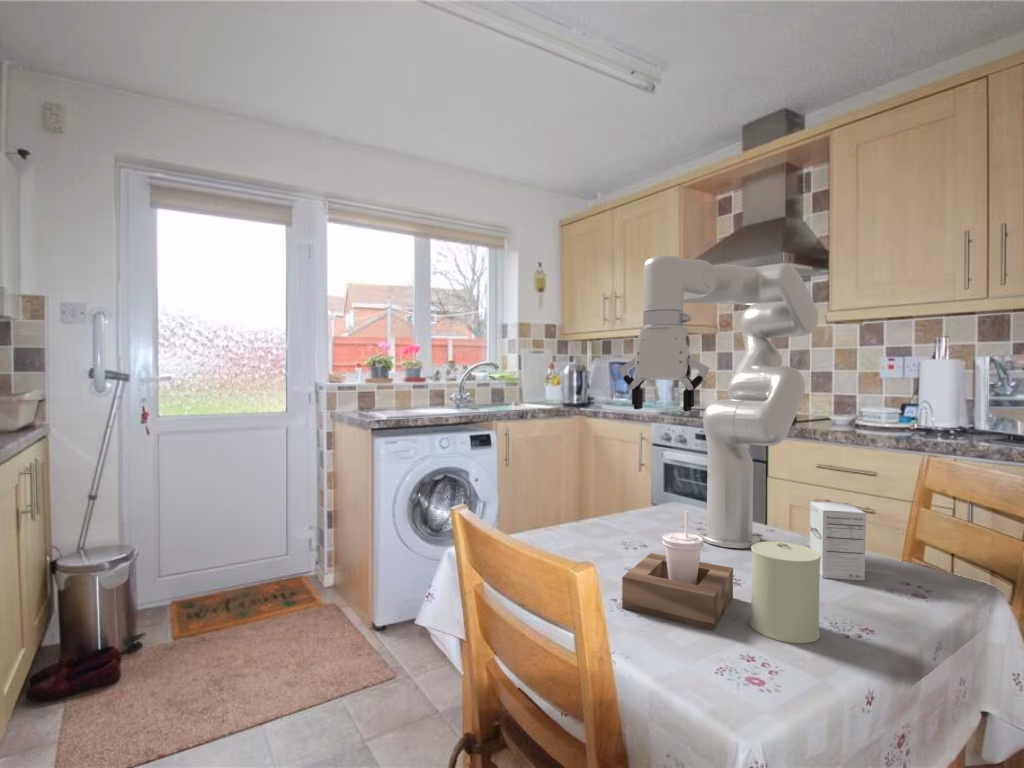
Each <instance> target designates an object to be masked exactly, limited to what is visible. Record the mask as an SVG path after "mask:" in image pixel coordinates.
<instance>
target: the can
mask: <svg viewBox="0 0 1024 768" xmlns="http://www.w3.org/2000/svg"><path fill="white" fill-rule="evenodd" d="M750 549H751V602H750V603H751V608H750V619H749V623H750V624H749V625H750V626H751V627H752V629H753V630H754V631H755V632H757V633H759V634H760V635H762V636H764V637H767V638H769V639H772V640H774V641H778V642H782V643H783V642H784V643H786V644H787V643H789V644H797V645H798V644H800V645H801V644H804V645H805V644H812V643H814V642H817V641H818V640H819V639H820V638H821V631H820V576H821V575H820V559H821V555H820V554H819V553H818V552H817V551H815V550H813V549H811V548H810V547H808V546H804V545H800V544H797V543H791V542H786V541H769V540H768V541H767V540H766V541H760V542H758V543H755V544H753V545H752V547H751V548H750Z"/></svg>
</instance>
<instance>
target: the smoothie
mask: <svg viewBox="0 0 1024 768" xmlns="http://www.w3.org/2000/svg"><path fill="white" fill-rule="evenodd" d="M662 544H663V545H664V551H665V556H666V561H667V569H668V578H669V580H674V581H679V582H684V583H689V584H694V585H696V582H697V575H698V568H699V562H701V560H700V559H701V552H702V548H703V547H704V541H703V539H702V538H701V537H700V535H696V534H693V533H689V511H688V510H685V511H684V532H681V531H680V532H678V531H677V532H675V531H674V532H668V533H665V534H663V536H662Z"/></svg>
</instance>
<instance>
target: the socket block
mask: <svg viewBox="0 0 1024 768" xmlns="http://www.w3.org/2000/svg"><path fill="white" fill-rule="evenodd" d="M621 580H622V582H621V583H622V587H621V588H622V589H621V590H622V592H621V594H622V595H621V596H622V597H621V604H622V605H621V609H624V610H629V611H633V612H635V613H640V614H645V615H647V616H648V615H649V616H654V617H657V618H661V619H665V620H668V621H669V620H670V621H674V622H676V623H677V622H678V623H682V624H685V625H690V626H693V627H697V628H701V629H707V630H709V631H714V630H715V629H716V628H717V625H718V624H719V622H720V620H721V619H722V617H723V615H724V613H725V612H726V610H727V608H728V607H729V605H730V604H731V602H732V600H733V599H734V567H731V566H730V567H729V566H724V565H720V564H713V563H708V562H702V561H699V568H698V575H697V582H696V585H694V584H689V583H684V582H679V581H674V580H669V578H668V569H667V561H666V554H665V555H664V554H659V553H653V552H650V553H649V554H648V555H647V556H645V558H643V559H642V560H641V561H639V562H638V563H637V564H636V565H635V566H634V567H632V568H631V569H629V571H628V572H627V573H625V574H624V575H623V576H622V579H621Z"/></svg>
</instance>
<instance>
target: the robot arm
mask: <svg viewBox="0 0 1024 768" xmlns="http://www.w3.org/2000/svg"><path fill="white" fill-rule="evenodd" d="M642 278H643V279H642V281H643V283H642V284H643V286H642V288H643V289H642V290H643V291H642V292H643V293H642V295H643V297H642V298H643V300H642V301H643V302H642V303H643V304H642V306H643V309H642V311H643V312H642V328H641V329H639V332H638V336H637V342H636V348H635V358H634V359H632V360H630V361H628V362H627V363H624V364H623V365H621V366H619V368H618V369H619V372H620V374H621V376H622V377H623V381H624V382H625V383H626V384H627V385H628V387H629V388H630V389H631V404H632V406H633V410H641V409H643V405H644V404H643V403H644V402H643V400H644V399H643V397H644V396H643V395H644V394H643V393H644V392H643V388H641V386H643V384H644V383H645V382H646V380H652V381H653V380H654V381H656V380H658V381H677V380H678V381H680V383H681V384H682V385H683V386H684V387H685V389H684V390H683V393H682V395H683V396H682V397H683V398H682V399H683V403H682V409H683V411H684V412H690V411H692V408H694V406H695V390H696V389H697V388H698V387H699V386H700V385H701V384H702V383H703V382H704V381H705V378H706V377H707V375H708V372H709V371H710V367H709V366H708V365H706V364H704V363H702V362H700V361H698V360H696V359H694V358H692V350H691V341H690V339H691V338H690V334H689V329H688V327H687V328H686V327H685V324H686V323H687V322H691V320H692V315H691V314H687V313H685V311H684V304H702V305H704V304H706V305H707V304H708V305H716V304H717V305H718V304H721V305H722V304H723V305H725V304H726V305H745V306H746V305H747V306H748V305H751V306H749V307H748V308H747V309H745V310H744V311H743V313H742V315H741V319H740V327H741V328H740V329H741V334H742V338H743V343H744V355H743V357H742V359H741V361H740V363H739V365H738V366H737V368H736V370H735V371H734V373H733V375H732V377H731V378H730V381H729V383H728V387H727V396H728V399H727V398H726V399H718V400H715V401H712V402H711V403H709V404H708V405H707V406H706V408H705V409H704V413H703V417H702V419H703V420H702V422H703V430H704V433H705V440H706V447H707V471H706V472H707V473H706V474H707V477H706V478H707V481H706V482H707V484H706V487H707V489H706V490H707V491H706V493H707V494H706V497H707V498H706V501H707V502H706V503H707V504H706V528H704V529H701V530H700V531H699V537H701V538H702V539H703V542H705V543H708V544H710V545H713V546H716V547H720V548H728V549H751V547H752V545H753V544H755V543H758V542H761V538H760V536H758V535H757V534H755V533H753V527H754V526H753V522H754V521H753V520H754V518H753V516H754V511H753V510H754V509H753V507H754V506H753V504H754V503H753V502H754V462H753V459H752V455H751V453H750V451H749V450H748V449H747V447H746V445H753V446H762V447H763V446H765V447H774V446H777V445H779V444H781V443H782V442H783V441H784V440H785V438H786V437H787V435H788V433H789V431H790V429H791V426H792V425H793V423H794V420H795V419H796V416H797V414H798V412H799V409H800V408H801V405H802V402H803V400H804V396H805V390H806V389H805V387H806V385H805V380H804V377H803V375H802V373H801V372H800V371H799V370H798V369H797V368H794V367H791V366H784V365H783V364H782V363H783V358H782V355H781V353H780V351H779V350H778V349H777V347H776V346H775V345H774V343H772V341H771V340H770V339H773V338H775V339H776V338H793V337H804V336H808V335H811V334H812V333H813V332H815V330H816V328H817V327H818V324H819V312H818V310H817V305H816V303H815V302H814V299H813V298H812V296H811V293H810V291H809V290H808V289H809V288H807V285H806V283H805V282H804V279H803V278H802V276H801V275H800V273H799V272H798V270H797V269H795V267H794V266H793V265H791V264H789V263H786V262H782V263H781V262H780V263H775V264H769V265H768V264H767V265H762V266H755V267H753V266H752V267H751V266H745V265H744V266H743V265H735V264H729V263H727V264H726V263H724V264H722V263H721V264H714V265H713V264H712V263H710V262H709V261H706V260H704V259H683V258H680V257H678V256H674V255H659V256H653V257H650V258H648V259H647V260H646V261H645V262H644V264H643V277H642ZM693 368H694V369H696V370H698V372H697V375H696V376H695V378H693V379H692V378H691V376H692V374H693V373H692V372H693V371H692V370H693ZM632 369H634V375H635V377H634V378H633V376H632V375H631V374H630V370H632Z"/></svg>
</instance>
